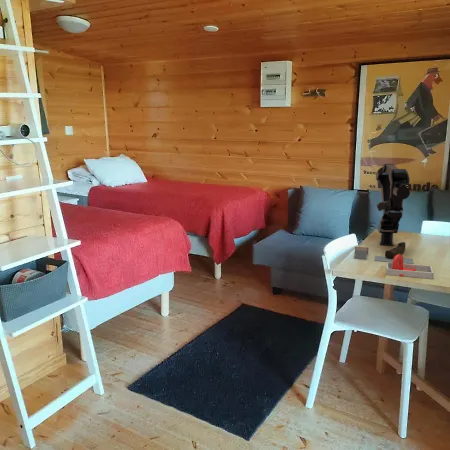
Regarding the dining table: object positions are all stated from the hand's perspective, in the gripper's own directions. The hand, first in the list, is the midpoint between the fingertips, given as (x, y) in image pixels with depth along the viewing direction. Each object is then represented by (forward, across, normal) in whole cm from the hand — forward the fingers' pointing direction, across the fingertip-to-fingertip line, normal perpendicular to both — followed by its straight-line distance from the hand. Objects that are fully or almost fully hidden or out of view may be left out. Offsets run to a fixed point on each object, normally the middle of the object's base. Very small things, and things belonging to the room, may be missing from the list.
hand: (394, 228), depth 209 cm
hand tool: (+11, +7, +2) cm, 13 cm away
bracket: (+11, +33, +6) cm, 35 cm away
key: (+10, +15, -13) cm, 22 cm away
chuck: (+11, +17, -13) cm, 24 cm away
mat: (+11, +16, +1) cm, 19 cm away
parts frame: (+11, +33, +7) cm, 36 cm away
